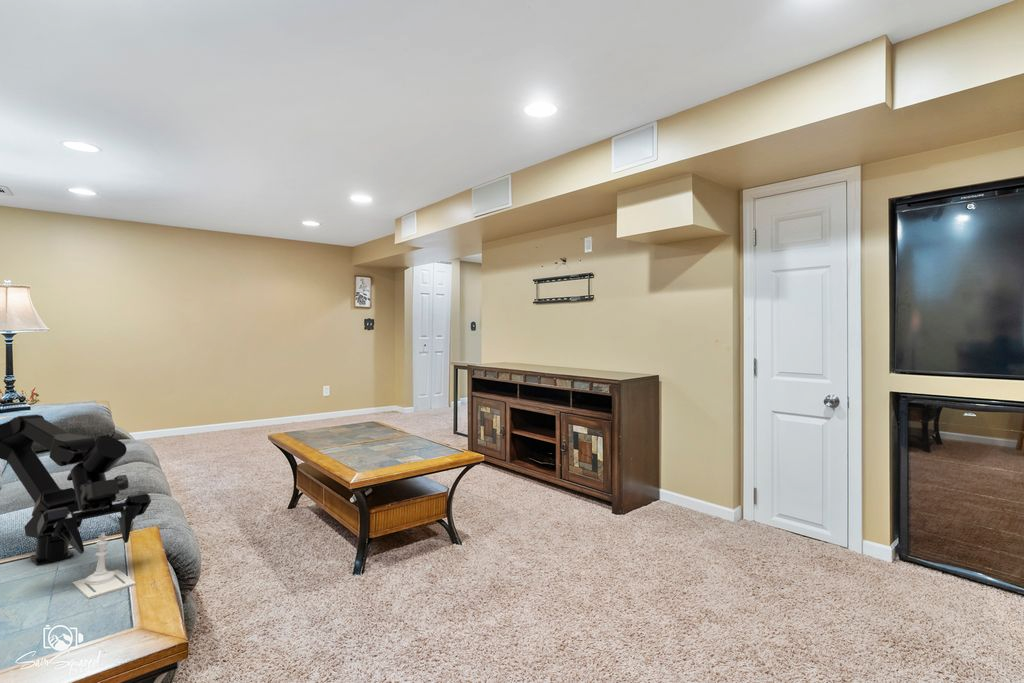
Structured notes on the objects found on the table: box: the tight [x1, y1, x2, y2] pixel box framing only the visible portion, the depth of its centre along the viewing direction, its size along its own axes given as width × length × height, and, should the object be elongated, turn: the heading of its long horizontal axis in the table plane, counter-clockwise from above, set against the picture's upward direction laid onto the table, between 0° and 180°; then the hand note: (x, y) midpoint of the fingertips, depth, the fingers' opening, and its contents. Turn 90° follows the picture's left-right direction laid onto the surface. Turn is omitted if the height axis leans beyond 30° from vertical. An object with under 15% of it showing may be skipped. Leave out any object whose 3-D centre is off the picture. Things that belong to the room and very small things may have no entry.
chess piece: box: [85, 532, 115, 585], centre depth 107 cm, size 5×5×10 cm
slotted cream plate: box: [71, 569, 137, 600], centre depth 106 cm, size 10×8×1 cm
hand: (105, 547), depth 107 cm, fingers open, 7 cm apart
